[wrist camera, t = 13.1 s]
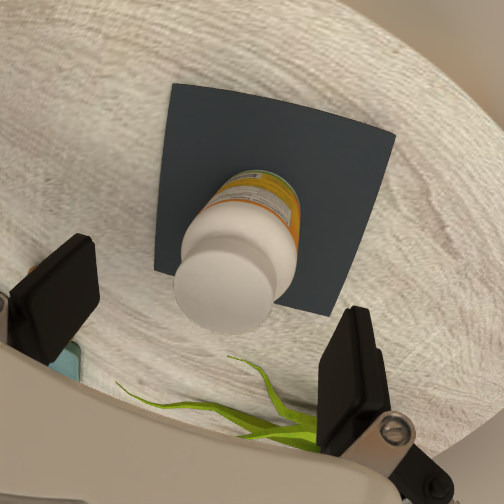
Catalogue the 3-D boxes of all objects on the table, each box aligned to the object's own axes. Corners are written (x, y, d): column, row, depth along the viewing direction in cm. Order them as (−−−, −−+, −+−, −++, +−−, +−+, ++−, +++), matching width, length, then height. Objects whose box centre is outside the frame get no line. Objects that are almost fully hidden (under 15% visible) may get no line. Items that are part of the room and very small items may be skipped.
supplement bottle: (271, 260, 22) (246, 366, 14) (204, 219, 22) (139, 305, 13) (317, 198, 20) (322, 286, 11) (243, 151, 19) (189, 204, 11)
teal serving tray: (86, 345, 33) (75, 359, 31) (85, 383, 37) (77, 395, 35) (-42, 252, 32) (-53, 260, 29) (-33, 295, 36) (-42, 303, 34)
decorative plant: (201, 282, 26) (119, 440, 13) (408, 425, 31) (418, 534, 18) (122, 370, 34) (65, 470, 21) (302, 469, 39) (291, 556, 26)
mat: (178, 83, 18) (172, 83, 18) (392, 133, 18) (396, 134, 17) (158, 264, 25) (153, 270, 24) (329, 309, 25) (329, 317, 24)
